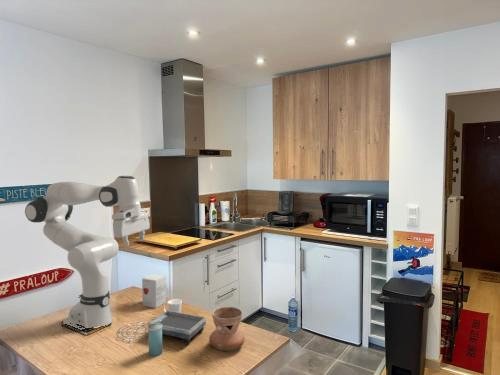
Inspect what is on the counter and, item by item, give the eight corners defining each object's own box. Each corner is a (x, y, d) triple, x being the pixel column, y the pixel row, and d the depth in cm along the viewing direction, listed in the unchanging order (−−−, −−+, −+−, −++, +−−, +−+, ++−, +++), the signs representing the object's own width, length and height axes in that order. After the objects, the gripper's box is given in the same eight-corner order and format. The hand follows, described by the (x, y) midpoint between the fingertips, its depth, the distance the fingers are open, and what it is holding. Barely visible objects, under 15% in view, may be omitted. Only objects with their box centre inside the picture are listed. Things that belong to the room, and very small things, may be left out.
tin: (145, 355, 136) (145, 327, 136) (154, 348, 141) (153, 322, 141) (157, 357, 135) (156, 330, 134) (165, 350, 139) (164, 324, 139)
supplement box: (141, 305, 183) (141, 278, 182) (152, 299, 192) (152, 273, 191) (156, 308, 180) (155, 280, 179) (166, 302, 188) (166, 275, 187)
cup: (177, 321, 165) (177, 305, 165) (159, 318, 169) (159, 302, 168) (185, 315, 172) (185, 299, 171) (168, 312, 175) (167, 297, 175)
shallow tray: (148, 337, 150) (148, 323, 149) (167, 323, 163) (167, 310, 162) (189, 346, 143) (189, 331, 142) (205, 331, 156) (205, 317, 155)
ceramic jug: (234, 360, 133) (234, 323, 132) (201, 351, 139) (201, 316, 138) (251, 339, 150) (252, 306, 149) (221, 332, 155) (222, 301, 154)
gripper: (139, 209, 163) (143, 238, 164) (108, 216, 144) (113, 249, 145) (151, 208, 161) (154, 238, 162) (121, 215, 142) (125, 248, 143)
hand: (134, 243), depth 153 cm, fingers open, 8 cm apart
